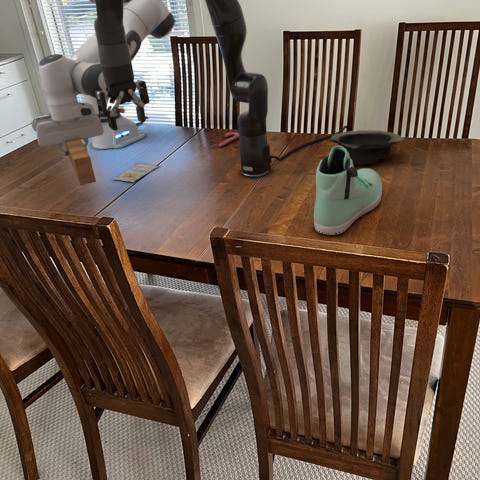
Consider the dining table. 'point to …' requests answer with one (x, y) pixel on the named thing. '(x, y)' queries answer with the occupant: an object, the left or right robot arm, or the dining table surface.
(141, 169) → the baking ingredient package
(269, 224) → the dining table surface
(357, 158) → the stone bowl
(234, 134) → the candy cane
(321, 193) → the sneaker
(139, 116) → the right robot arm
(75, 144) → the bar
